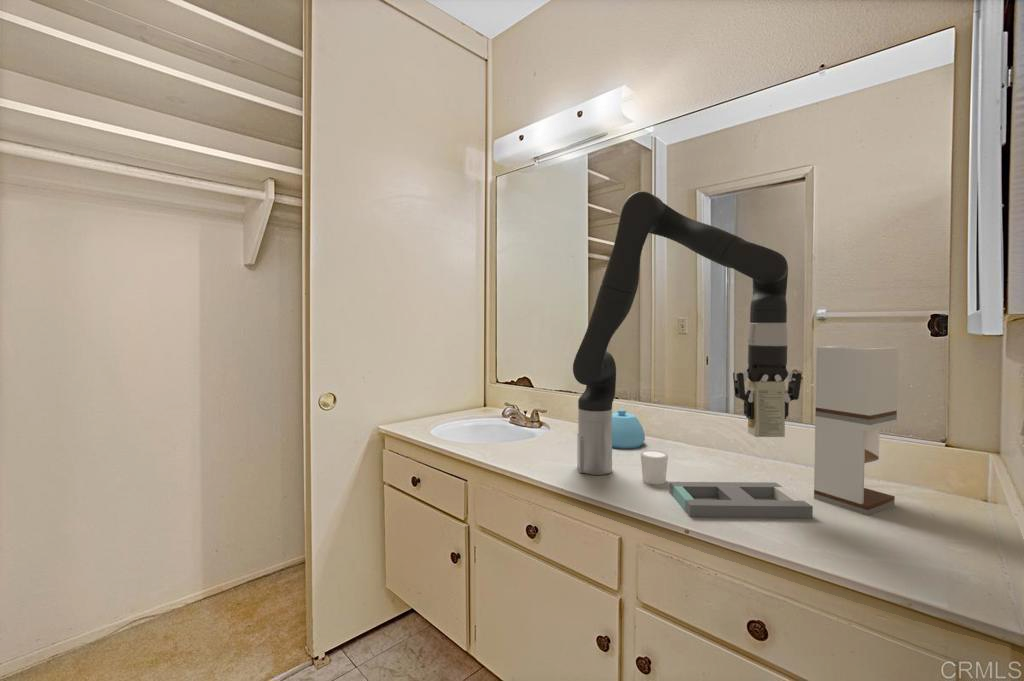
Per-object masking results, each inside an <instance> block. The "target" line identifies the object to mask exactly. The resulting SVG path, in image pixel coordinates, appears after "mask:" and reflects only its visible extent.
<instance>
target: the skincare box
mask: <svg viewBox="0 0 1024 681" xmlns="http://www.w3.org/2000/svg"><path fill="white" fill-rule="evenodd" d="M747 381H748V383H747V386H748V385H750V387H751V388H755V393H754V401H753V403H754V419H748V418H747V419H748V420H747V424H748V425H747V432H748V433H749V434H750V435H752V436H753V437H756V438H785V436H786V433H785V432H786V428H785V427H786V426H785V423H786V419H785V388H786V382H785V381H783V382H775V381H766V382H753V381H750V380H749V379H748V380H747Z"/></svg>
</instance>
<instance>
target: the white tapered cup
mask: <svg viewBox="0 0 1024 681" xmlns="http://www.w3.org/2000/svg"><path fill="white" fill-rule="evenodd" d="M640 461H641V474H642V481H643V482H644V483H647V484H650V485H663V484H664V485H665V483H666V480H667V472H668V471H667V470H668V461H669V455H668V453H666V452H663V451H661V450H659V451H658V450H643V451H641V452H640Z"/></svg>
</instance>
